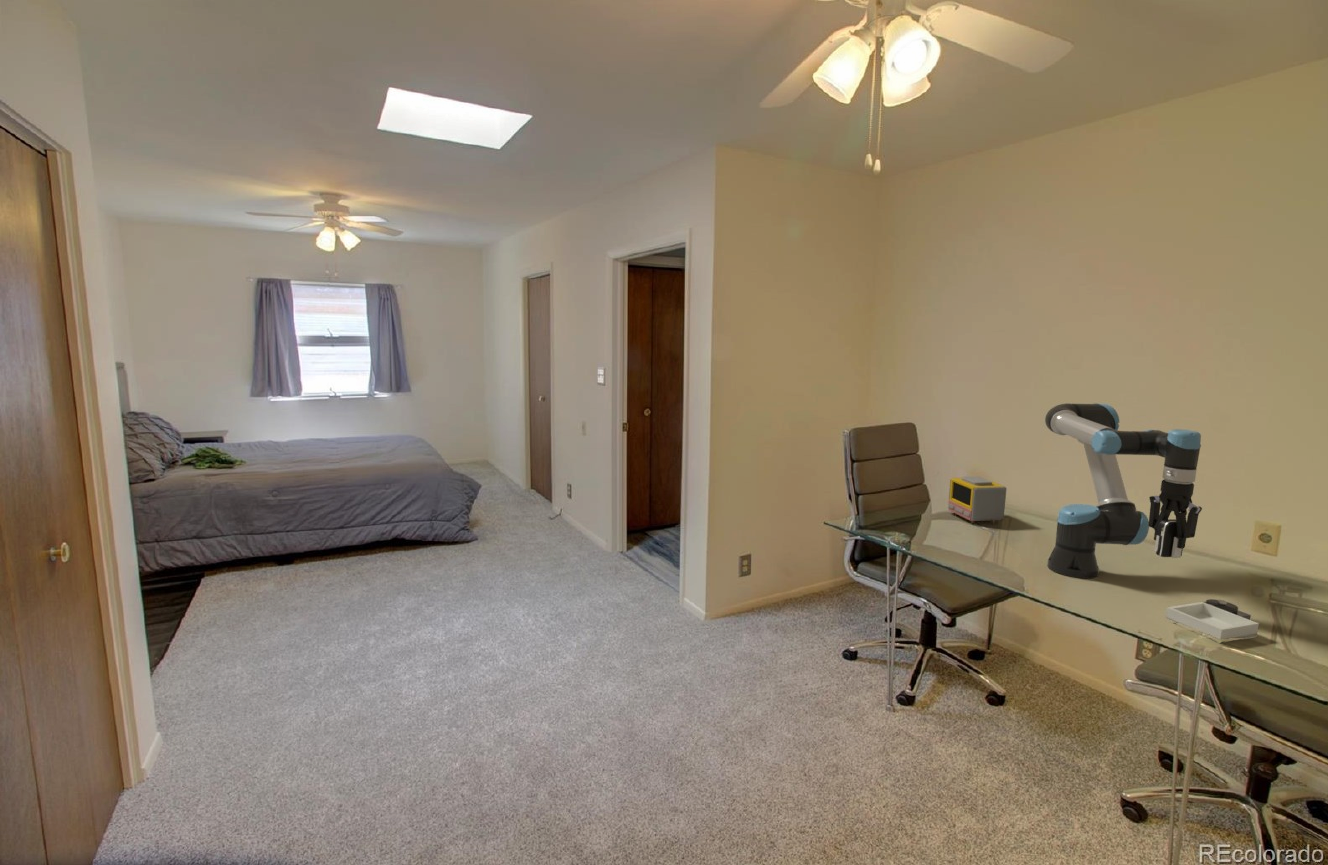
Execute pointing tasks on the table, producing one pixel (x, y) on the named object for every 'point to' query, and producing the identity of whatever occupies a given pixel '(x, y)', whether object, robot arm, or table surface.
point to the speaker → (1227, 607)
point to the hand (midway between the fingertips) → (1167, 554)
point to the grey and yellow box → (977, 499)
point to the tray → (1212, 621)
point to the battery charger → (1166, 537)
